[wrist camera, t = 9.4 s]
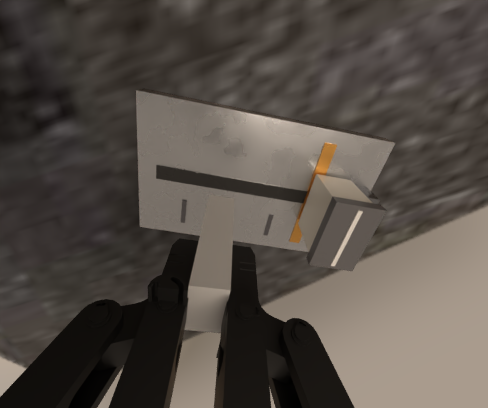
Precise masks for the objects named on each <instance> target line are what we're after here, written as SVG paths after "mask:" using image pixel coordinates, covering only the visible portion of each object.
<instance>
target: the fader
mask: <svg viewBox="0 0 488 408" xmlns="http://www.w3.org/2000/svg"><path fill="white" fill-rule="evenodd" d="M385 213H386V210H385V209H384V208H383V207H382V206H381V205H380V204H374V203H372V202H371V201H370V200H369V199H368V198H367V197H366V196H365V194H364V193H363V192H362V191H361V190H360V189H359V188H358V187H357V186H356V185H355V184H354V183H353V182H352V181H351V180H347V179H342V178H336V177H331V176H325V175H320V174H316V176H315V179H314V182H313V184H312V187H311V190H310V193H309V195H308V198H307V201H306V203H305V206H304V209H303V212H302V214H301V217H300V220H299V222H298V224H299V227H300V230H301V233H302V235H303V238H304V241H305V244H306V247H307V249H308V252H309V253H308V255H307V260H308V263H309V265H312V266H319V267H326V268H333V269H340V270H347V271H353V269H354V267H355V265H356V264H357V262H358V260H359V259H360V257H361V255H362V253H363V252H364V250H365V248H366V246H367V245H368V243H369V241H370V239H371V238H372V236H373V234H374V232H375V231H376V229H377V227H378V225H379V224H380V222H381V220H382V218H383V217H384V215H385Z"/></svg>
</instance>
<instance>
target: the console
mask: <svg viewBox="0 0 488 408" xmlns="http://www.w3.org/2000/svg"><path fill="white" fill-rule="evenodd" d="M136 108H137V144H138V181H139V217H140V227H145V228H151V229H158V230H165V231H171V232H178V233H185V234H192V235H198V236H200V233H201V229H202V224H203V220H204V216H205V211H206V207H207V202H208V198H209V195H216V196H222V197H229V198H234V222H233V241H238V242H245V243H252V244H258V245H265V246H272V247H278V248H285V249H292V250H299V251H305V252H308V249H307V247H306V244H305V241H304V238H303V235H302V233H301V230H300V227H299V224H298V222H299V220H300V217H301V214H302V212H303V209H304V206H305V203H306V201H307V198H308V195H309V193H310V190H311V187H312V184H313V182H314V179H315V176H316V174H320V175H325V176H331V177H336V178H342V179H347V180H351V181H352V182H353V183H354V184H355V185H356V186H357V187H358V188H359V189H360V190H361V191H362V192H363V193H364V194H365V196H366V197H367V198H368V199H369V200H370V201H371V202H372V203H374V204H378V202H379V201H380V200H379V199H378V198H377V197H376V196H375V195H374V194H373V193H372V192H371V190H372V188H373V186H374V184H375V182H376V180H377V178H378V176H379V174H380V172H381V170H382V168H383V166H384V164H385V162H386V160H387V158H388V156H389V154H390V152H391V150H392V148H393V146H394V145H395V143H394V142H392V141H390V140H388V139H386V138H382V137H377V136H372V135H367V134H362V133H358V132H353V131H348V130H343V129H338V128H333V127H328V126H323V125H319V124H314V123H309V122H304V121H299V120H294V119H289V118H284V117H280V116H275V115H270V114H265V113H260V112H255V111H250V110H246V109H241V108H236V107H231V106H226V105H221V104H216V103H211V102H207V101H202V100H197V99H192V98H187V97H182V96H177V95H173V94H168V93H163V92H158V91H153V90H148V89H139V90H136Z"/></svg>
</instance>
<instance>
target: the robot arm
mask: <svg viewBox="0 0 488 408" xmlns="http://www.w3.org/2000/svg"><path fill="white" fill-rule="evenodd" d="M233 222H234V198H229V197H222V196H216V195H209V198H208V202H207V207H206V211H205V216H204V220H203V224H202V229H201V233H200V238H199V241H194V240H186V239H179V240H177V241H176V242H175V243H174V244H173V245H172V248H171V251H170V254H169V256H168V259H167V262H166V265H165V268H164V270H163V273H162V275H160V276H157V277H156V278H155V279H153V280H152V281H151V282H150V284H149V285H148V299H146V300H144V301H142V302H139V303H136V304H131V305H125V306H120V305H119V303H117V302H115V301H114V300H107V299H105V300H99V301H96V302H94V303H91V304H89V305H88V306H86V307H85V308H84V309H83V310H82V311H81V312H80V313H79V314H78V315H77V316H76V317H75V318H74V319H73V320H72V321H71V322H70V323H69V324H68V325H67V326H66V328H65V329H64V330H63V331H62V332H61V333H60V334H59V335H58V336H57V337H56V338H55V339H54V340H53V341H52V342H51V344H50V345H49V346H48V347H47V348H46V349H45V350H44V351H43V352H42V353H41V354H40V355H39V356H38V357H37V358H36V360H35V361H34V362H33V363H32V364H31V365H30V366H29V367H28V368H27V369H26V370H25V371H24V372H23V373H22V375H21V376H20V377H19V378H18V379H17V380H16V381H15V382H14V383H13V384H12V385H11V386H10V387H9V388H8V389H7V391H6V392H5V393H4V394H3V395H2V396H1V397H0V408H97V407H98V405H99V404H100V402H101V401H102V399H103V397H104V396H105V394H106V393H107V391H108V389H109V388H110V386H111V384H112V383H113V381H114V380H115V378H116V376H117V375H118V373H119V372H120V370H121V368H122V367H123V365H124V368H123V371H122V373H121V376H120V379H119V381H118V384H117V387H116V389H115V392H114V395H113V397H112V400H111V403H110V405H109V408H169V407H170V402H171V397H172V392H173V388H174V382H175V378H176V372H177V367H178V363H179V358H180V352H181V347H182V340H183V334H184V330H193V331H204V332H214V333H221V340H220V344H219V348H218V353H217V358H218V364H217V377H216V388H215V402H214V408H271V401H270V389H271V393H272V397H273V400H274V404H275V407H276V408H354V406H353V404H352V402H351V400H350V398H349V396H348V394H347V392H346V390H345V388H344V386H343V384H342V382H341V380H340V378H339V377H338V374H337V372H336V370H335V368H334V366H333V364H332V362H331V360H330V358H329V356H328V354H327V352H326V350H325V348H324V346H323V344H322V342H321V340H320V338H319V336H318V334H317V332H316V331H315V329H314V328H313V327H312V326H311V325H310V324H309V323H308V322H306V321H304V320H302V319H299V318H292V319H290V320H288V321H287V322H283V321H281V320H279V319H277V318H274V317H272V316H270V315H269V314H267V313H266V312H265V311H264V310H263V308H262V307H261V305H260V303H259V300H258V290H257V276H256V265H255V264H256V263H255V255H254V253H253V251H252V249H251V248H250V247H243V246H236V245H233ZM269 386H270V389H269Z"/></svg>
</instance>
